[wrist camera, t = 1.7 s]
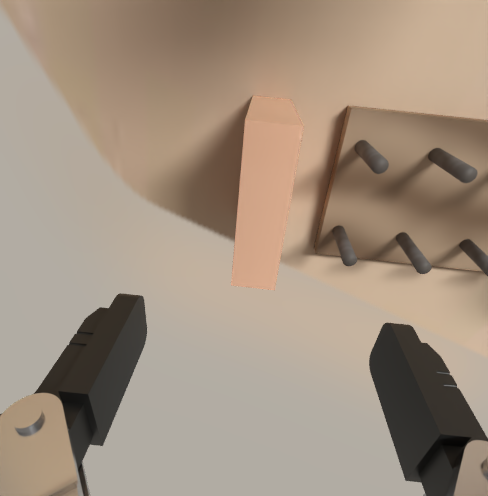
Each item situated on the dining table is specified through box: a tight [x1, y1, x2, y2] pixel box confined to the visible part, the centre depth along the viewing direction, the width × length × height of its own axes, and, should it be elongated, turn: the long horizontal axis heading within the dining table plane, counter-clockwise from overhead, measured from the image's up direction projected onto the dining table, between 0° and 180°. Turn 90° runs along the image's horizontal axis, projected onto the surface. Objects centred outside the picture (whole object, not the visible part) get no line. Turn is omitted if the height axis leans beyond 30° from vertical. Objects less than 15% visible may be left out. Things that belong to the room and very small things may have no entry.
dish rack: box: [314, 106, 488, 276], centre depth 24 cm, size 12×19×6 cm, turn 85°
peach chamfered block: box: [231, 96, 304, 290], centre depth 22 cm, size 10×3×10 cm, turn 175°
